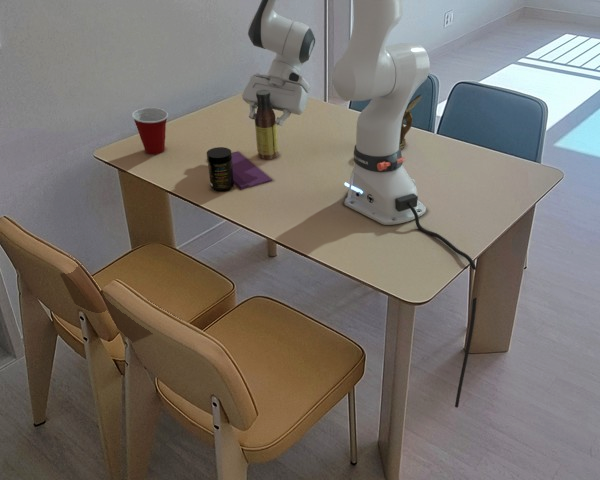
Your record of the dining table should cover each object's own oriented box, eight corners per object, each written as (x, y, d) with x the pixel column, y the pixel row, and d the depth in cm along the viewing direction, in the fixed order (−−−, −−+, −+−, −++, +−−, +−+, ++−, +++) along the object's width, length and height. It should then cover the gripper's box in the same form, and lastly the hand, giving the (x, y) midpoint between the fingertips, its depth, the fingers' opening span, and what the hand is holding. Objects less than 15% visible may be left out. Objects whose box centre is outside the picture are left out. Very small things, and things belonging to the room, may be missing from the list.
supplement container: (238, 189, 181) (235, 154, 175) (216, 195, 179) (212, 159, 173) (228, 179, 186) (225, 145, 180) (206, 185, 184) (202, 150, 177)
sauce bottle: (269, 149, 202) (266, 85, 189) (282, 156, 198) (280, 91, 186) (252, 155, 198) (248, 91, 186) (265, 162, 194) (261, 97, 182)
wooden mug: (407, 158, 195) (413, 99, 184) (370, 146, 202) (373, 89, 191) (423, 148, 201) (429, 90, 190) (385, 137, 207) (389, 80, 196)
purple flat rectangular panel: (272, 180, 185) (272, 178, 185) (240, 189, 181) (240, 187, 181) (238, 152, 200) (238, 150, 200) (208, 160, 196) (208, 158, 196)
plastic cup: (167, 159, 197) (161, 121, 190) (133, 157, 199) (126, 119, 192) (178, 144, 206) (172, 107, 199) (145, 142, 207) (138, 105, 200)
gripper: (248, 67, 193) (231, 110, 193) (307, 78, 184) (289, 123, 184) (257, 77, 199) (241, 119, 198) (315, 89, 190) (298, 132, 190)
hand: (265, 121), depth 191 cm, fingers open, 8 cm apart
